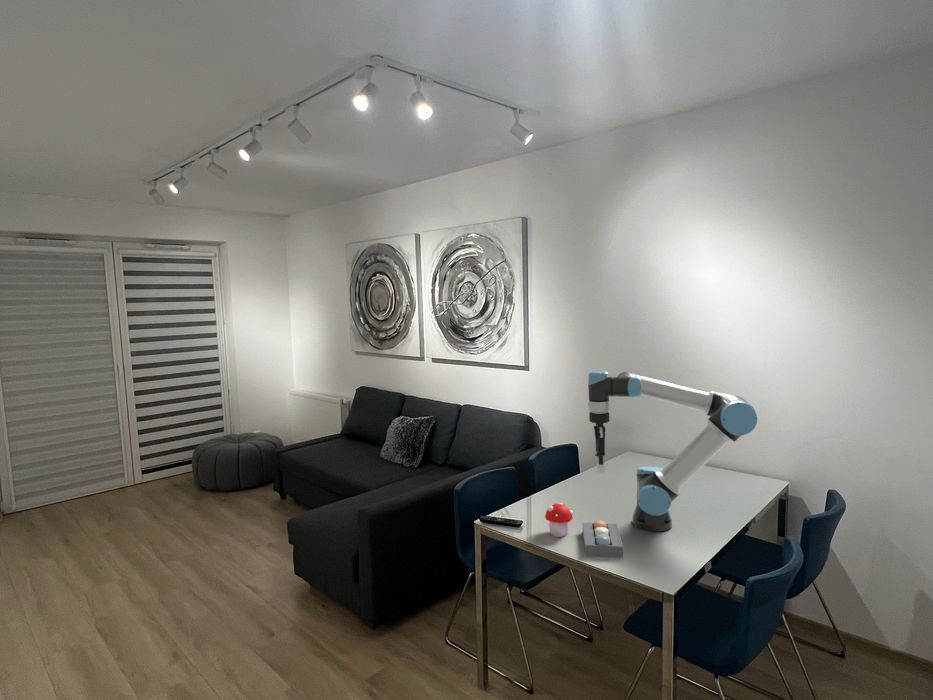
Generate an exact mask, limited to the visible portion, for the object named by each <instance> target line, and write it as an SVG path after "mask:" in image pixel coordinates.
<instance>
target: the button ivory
mask: <svg viewBox="0 0 933 700" xmlns="http://www.w3.org/2000/svg"><path fill="white" fill-rule="evenodd" d="M600 534H604V535H608V529H607V528H604V527H597V528H595V537H596V536H597V535H600Z"/></svg>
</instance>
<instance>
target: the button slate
mask: <svg viewBox="0 0 933 700" xmlns="http://www.w3.org/2000/svg"><path fill="white" fill-rule="evenodd" d="M596 545H610V537H609V536H608V535H604V534H600V535H597V536H596Z"/></svg>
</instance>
